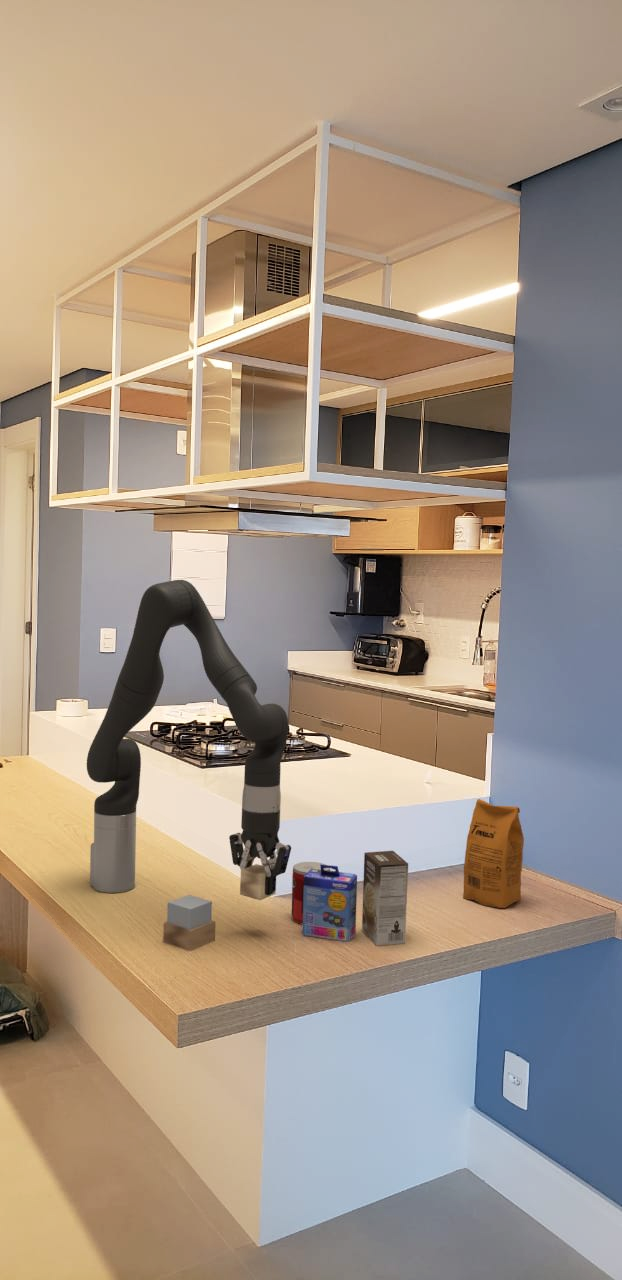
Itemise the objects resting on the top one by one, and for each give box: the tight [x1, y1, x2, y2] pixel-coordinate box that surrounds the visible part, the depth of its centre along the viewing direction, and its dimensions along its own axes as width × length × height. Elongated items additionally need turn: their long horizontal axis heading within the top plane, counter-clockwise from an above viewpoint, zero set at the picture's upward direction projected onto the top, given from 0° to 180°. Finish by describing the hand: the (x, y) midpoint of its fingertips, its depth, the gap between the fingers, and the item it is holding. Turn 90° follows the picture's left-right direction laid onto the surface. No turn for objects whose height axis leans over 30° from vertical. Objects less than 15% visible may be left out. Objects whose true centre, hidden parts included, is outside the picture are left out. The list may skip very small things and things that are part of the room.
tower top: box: [166, 894, 213, 930], centre depth 191 cm, size 6×6×4 cm
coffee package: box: [462, 798, 525, 909], centre depth 221 cm, size 10×12×22 cm
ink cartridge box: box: [301, 864, 358, 942], centre depth 197 cm, size 10×6×14 cm, turn 73°
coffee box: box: [361, 850, 409, 946], centre depth 197 cm, size 9×6×16 cm
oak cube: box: [239, 863, 277, 901], centre depth 196 cm, size 5×5×5 cm
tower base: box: [162, 920, 216, 952], centre depth 192 cm, size 7×7×4 cm
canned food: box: [291, 861, 331, 925], centre depth 206 cm, size 8×8×11 cm
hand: (258, 890), depth 196 cm, fingers closed on oak cube, 5 cm apart
